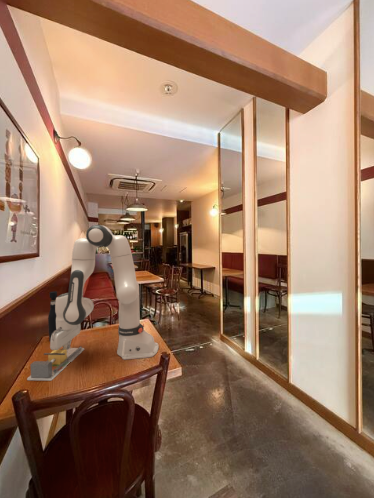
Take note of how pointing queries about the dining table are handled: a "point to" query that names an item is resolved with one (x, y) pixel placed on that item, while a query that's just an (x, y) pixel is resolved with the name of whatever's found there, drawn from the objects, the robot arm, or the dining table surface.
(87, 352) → the dining table surface
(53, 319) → the wine bottle
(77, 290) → the robot arm
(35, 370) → the track
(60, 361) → the block
